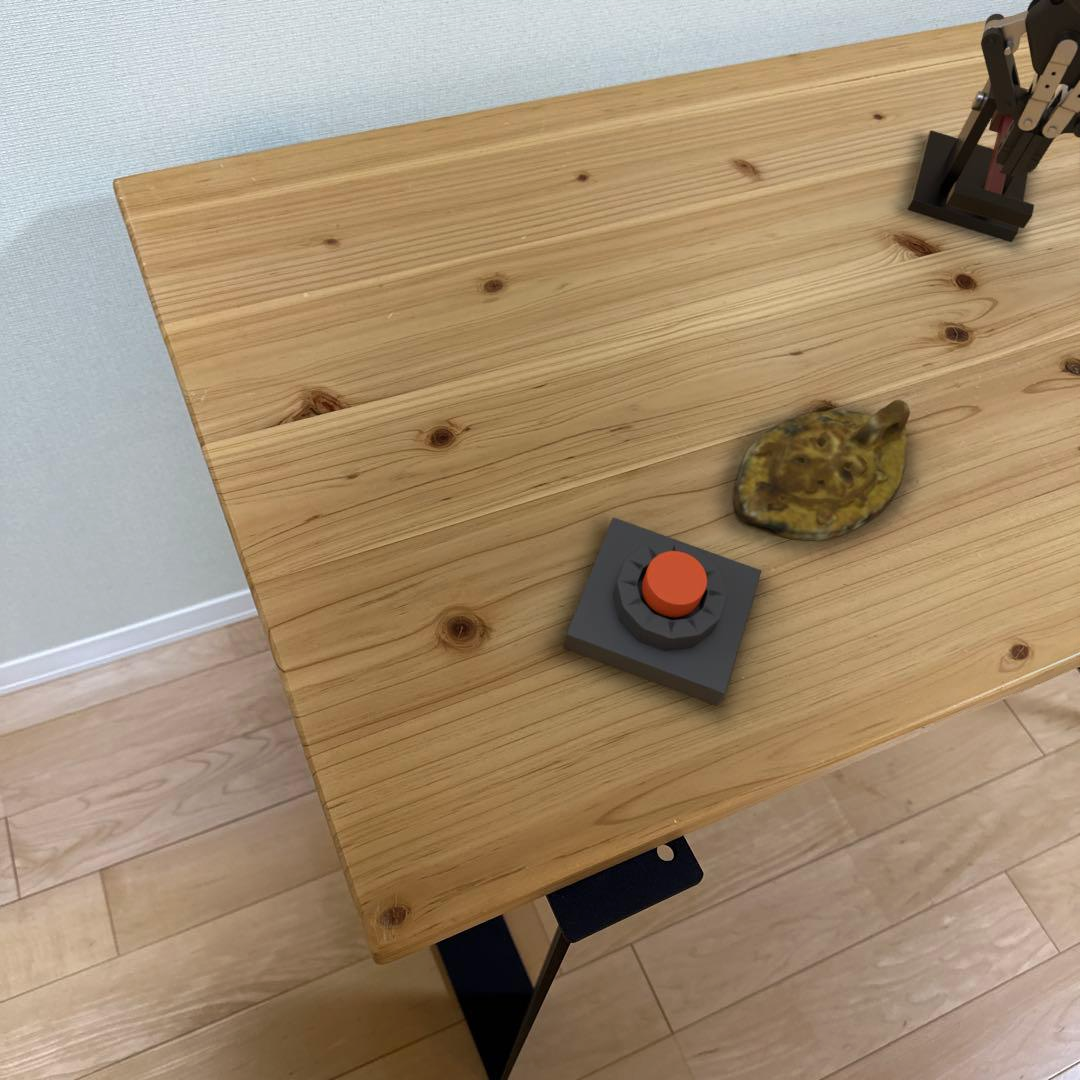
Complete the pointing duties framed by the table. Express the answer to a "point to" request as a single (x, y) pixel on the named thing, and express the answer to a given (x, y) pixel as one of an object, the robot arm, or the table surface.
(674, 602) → the button
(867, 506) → the olive oval piece
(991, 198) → the dark red t-shaped bar
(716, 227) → the table surface
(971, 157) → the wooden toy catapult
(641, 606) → the button box
